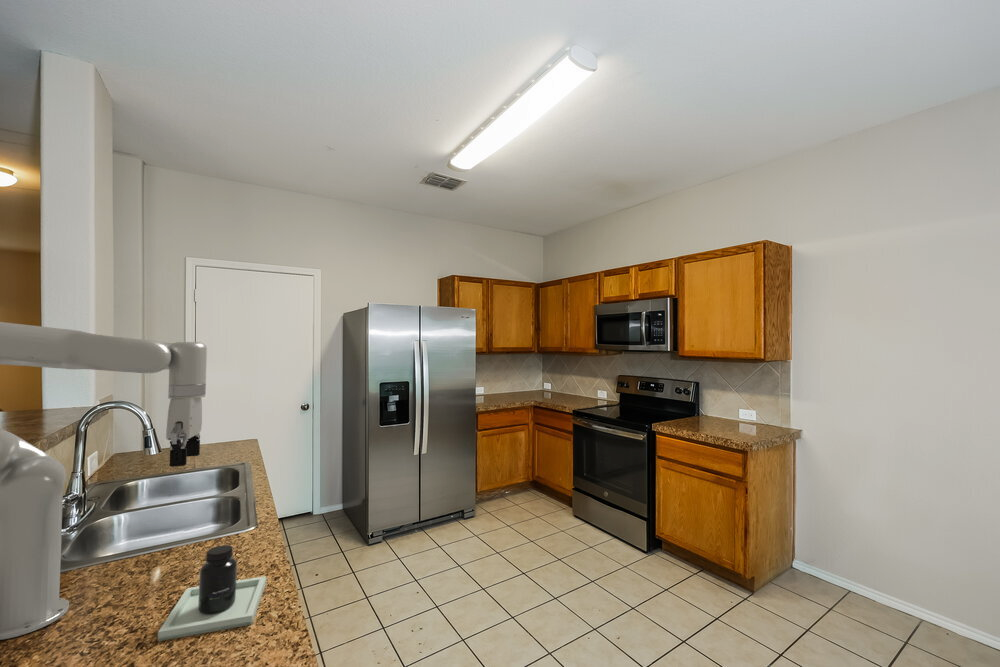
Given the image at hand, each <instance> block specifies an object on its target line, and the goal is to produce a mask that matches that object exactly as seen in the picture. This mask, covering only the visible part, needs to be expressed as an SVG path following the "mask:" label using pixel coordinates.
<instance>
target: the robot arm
mask: <svg viewBox="0 0 1000 667" xmlns="http://www.w3.org/2000/svg"><path fill="white" fill-rule="evenodd" d="M207 350H208V349H207V345H206V344H205V343H204V342H201V341H200V342H199V341H198V342H197V341H177V342H176V341H175V342H164V341H163V342H162V341H158V340H153V339H141V338H132V337H131V338H130V337H120V336H111V335H103V334H98V333H91V332H86V331H82V330H76V329H68V328H59V327H58V328H57V327H48V326H41V325H32V324H31V325H29V324H21V323H13V322H3V321H0V365H2V366H4V365H5V366H7V365H8V366H19V367H34V368H38V367H39V368H48V369H63V370H64V369H65V370H93V371H107V372H119V373H120V372H121V373H122V372H123V373H132V374H133V373H135V374H156V373H159V372H161V371H164V370H168V392H167V393H168V395H167V399H169V405H168V410H167V411H168V412H167V420H166V433H165V438H166V440H167V441H169V445H170V446H169V467H171V468H172V467H185V466H186V465H187V461H188V459H187V458H188V457H198V456H200V453H201V452H200V451H201V434H200V433H201V431H202V425H203V424H202V423H203V402H202V398H205V397H206V393H207V392H206V390H207V388H206V385H207V380H206V379H207V355H208V354H207ZM66 478H67V471H66V468H65V466H64V464H63V463H61V462H60V461H59V460H58V459H56V458H54V457H53V456H51V455H50V454H48V453H46V452H45V451H43V450H41V449H40V448H38V447H36V446H34V444H31V443H30V442H29V441H26V440H25V439H23V438H21V437H19V436H18V435H16V434H14V433H12V432H10V431H7V430H4V429H2V428H0V641H2V640H9V639H12V638H17V637H20V636H24V635H26V634H29V633H32V632H35V631H37V630H40V629H42V628H44V627H47V626H48V625H50V624H53V623H54V622H56V621H58V620H59V619H60V618H62V617H63V616H64V615H65V614H66V613H68V611H69V609H70V601H69V600H68V599H65V598H62V597H60V591H61V590H60V587H61V586H60V585H61V564H62V563H61V560H62V556H61V555H62V528H63V526H62V524H63V496H64V488H65V487H64V486H65V484H66Z"/></svg>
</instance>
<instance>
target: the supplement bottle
mask: <svg viewBox="0 0 1000 667" xmlns="http://www.w3.org/2000/svg"><path fill="white" fill-rule="evenodd" d="M233 555H234V554H233V546H232V545H230V544H229V545H228V544H224V545H217V546H214V547H211V548H209V549H207V551H206V553H205V563H203V565H202V566H201V568H200V570H199V584H198V586H199V599H198V610H199V612H200V613H202V614H215V613H219V612H222V611H224V610H226V609H228V608H230V607H231V606H232V605H233V604H234V602H235V598H236V581H237V575H238V573H237V572H238V561H237V560H236V558H234V557H233Z"/></svg>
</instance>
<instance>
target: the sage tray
mask: <svg viewBox="0 0 1000 667" xmlns="http://www.w3.org/2000/svg"><path fill="white" fill-rule="evenodd" d="M266 585H267V575H265V576H259V577H251V578H245V579H244V578H243V579H238V580H237V579H236V598H235V602H234V604H233V605H232V606H231V607H230V608H228V609H226V610H224V611H222V612H219V613H215V614H202V613H200V612H199V610H198V599H199V585H197V586H192V587H187V588H186V589H185V591H184V592H183V594H182V595H181V597H180V598H179V600H178V602H177V603H176V604H175V606H174V607H173V609H172V610H171V611H170V613H169V615H168V616H167V618H166V620H165V621H164V622H163V624H162V625H161V627H160V628H159V630H158V631H157V642H163V641H169V640H173V639H178V638H186V637H190V636H195V635H201V634H208V633H211V632H218V631H224V630H229V629H234V628H238V627H244V626H245V627H246V626H251V625H253V624H254V621H255V617H256V614H257V611H258V608H259V605H260V603H261V599H262V596H263V594H264V590H265V588H266Z"/></svg>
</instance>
